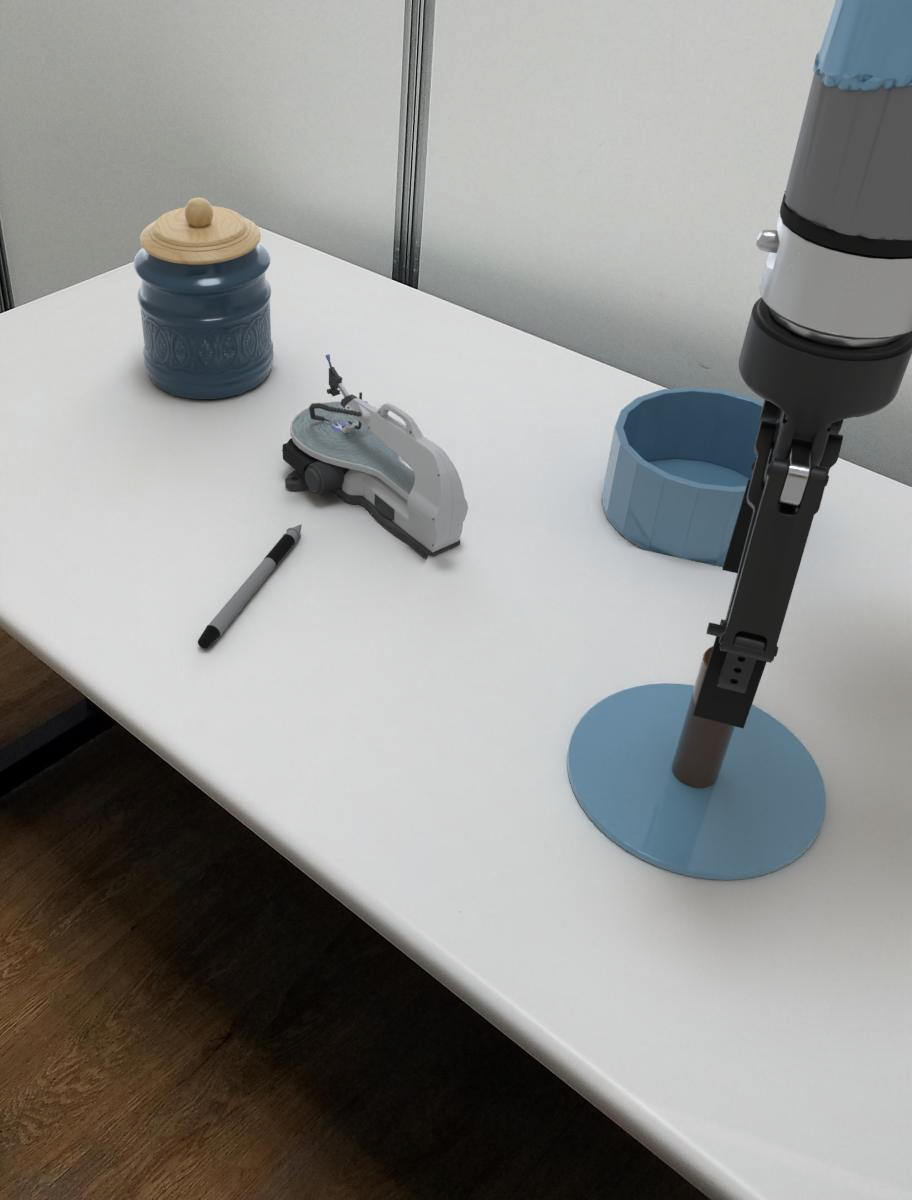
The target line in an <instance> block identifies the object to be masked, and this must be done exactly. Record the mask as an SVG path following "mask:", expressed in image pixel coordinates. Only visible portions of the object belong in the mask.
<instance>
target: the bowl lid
mask: <svg viewBox="0 0 912 1200" xmlns="http://www.w3.org/2000/svg"><path fill="white" fill-rule="evenodd" d="M712 648H713V645H711V646H710V647H708V648H707V649H706V650H705V651H704V652H703V654H702V658H701V662H700V665H699V668H698V671H697V675H696V679H695V682H694V684H685V683H671V682H670V683H669V682H667V683H665V682H663V683H649V684H643V685H637V686H633V687H629V688H626V689H622V690H620V691H617V692H614V693H612V694H610V695H608V696H606V697H605V698H603V699H601V700H600V701H598V702H597V703H595V704H594V705H593V706H592V707H591V708H589V709H588V710H587V711H586V713H584V714H583V716H582V717H581V718H580V720H579V721H578V723H577V724H576V726H575V728H574V729H573V732H572V734H571V737H570V741H569V744H568V745H569V746H568V750H567V760H566V762H567V765H566V766H567V773H568V779H569V783H570V786H571V788H572V789H571V790H572V791H573V794H574V796H575V797H576V800H577V802H578V804H579V805H580V808H582V810H583V811H584V813H585V814H586V816H587V818H589V820H590V821H592V823H593V824H594V825H595V826H596V827H597V828H598V830H599V831H601V832H602V833H603V834H604V835H605V836H606V837H607V838H609V840H611V841H612V842H613V843H614V844H616V845H617V846H618V847H620V848H622V849H623V850H625V851H626V852H628V853H629V854H631V855H633V856H635V857H636V858H638V859H639V860H642V861H644V862H646V863H648V864H651V865H653V866H655V867H658V868H661V869H663V870H666V871H669V872H672V873H674V874H680V875H684V876H687V877H692V878H698V879H704V880H714V881H715V880H718V881H734V880H746V879H751V878H756V877H761V876H764V875H767V874H770V873H773V872H776V871H778V870H781V869H782V868H784V867H786V866H788V865H791V864H792V863H793V862H795V861H796V860H797V859H798V858H800V857H801V856H802V855H803V854H804V853H805V852H806V851H807V850H808V849H809V848H810V847H811V846H812V844H813V843H814V841H815V840H816V838H817V836H818V834H819V832H820V830H821V827H822V824H823V822H824V819H825V816H826V815H825V814H826V808H827V794H826V788H825V784H824V780H823V777H822V774H821V771H820V769H819V767H818V765H817V763H816V762H815V759H814V758H813V756H812V755H811V753H810V751H809V750H808V749H807V747H806V746H805V745H804V744H803V742H801V740H800V739H799V738H798V737H797V736H796V735H795V734H794V733H793V732H792V731H791V730H790V729H789V728H787V726H786V725H784V724H783V723H782V722H781V721H779V720H778V719H776V718H775V717H774V716H772V715H771V714H770V713H768V712H766V711H764V710H763V709H761V708H760V707H758V706H756V705H755V704H752V706H751V708H750V711H749V714H748V717H747V720H746V723H745V726H744V729H743V728H739V727H735V726H732V725H728V724H724V723H720V722H716V721H712V720H709V719H705V718H701V717H697V716H693V713H694V708H695V704H696V701H697V698H698V695H699V691H700V688H701V685H702V681H703V678H704V675H705V672H706V668H707V665H708V662H709V658H710V655H711V652H712Z"/></svg>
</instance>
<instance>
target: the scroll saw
mask: <svg viewBox="0 0 912 1200" xmlns="http://www.w3.org/2000/svg"><path fill="white" fill-rule="evenodd" d="M325 359H326V361H327V362H328V365H329V368H328V385H329V387H330V388H327V389H326V394H328V395H331V396H332V397H336V396H338V395H342V396H343V398H341V400H340V401H339V400H338V401H337V400H334V401H326V402H314V403H313V402H312V403H311V404H310V405H309V407H306V408H304V409H302V410H301V411H300V412H298V413H297V414H296V415H295V416H294V417H293V419H292V421H291V422H290V428H289V429H290V430H289V431H290V433H289V434H290V439H289V440H288V441H287V442H286V443H283V444H282V449H281V452H282V460H283V461H284V462H285V463H286V464H288V465H289V466H290V467H291V468H292V469H293V470H292V471H291V472H290V473H289V474H288V475H287V476H286V478H285V479H284V484H285V486H284V487H285V489H287V490H288V491H290V492H300V491H306V490H310V491H311V492H313V493H315V494H317V495H323V494H325V493H327V492H330V491H331V492H333V493H334V494H336V496H338V497H339V498H340V499H342V501H344V502H346V503H347V504H350V505H361V506H362V507H363V508H364V509H365V510H366V511H368V513H369V514H370V515H371V516H372V517H373V518H374V519H375V520H376V521H377V522H378V523H379V524H380V525H381V526H382V527H383V528H384V529H386V530H387V531H388V532H390V533H391V535H393V536H395V537H396V538H398V539H399V540H400V541H403V542H404V543H405V544H406V545H408V546H409V547H410V548H412V549H413V550H414V551H415V552H416V553H417V554H419V555H420V556H421V557H423V559H425V560H428V558H429V557H433V558H434V557H436V556H438V555H441V554H443V553H445V552H448V551H449V550H452V549H454V548H456V547H459V546H460V545H461V536H462V532H463V524H464V522H465V520H466V518H467V515H468V510H469V505H468V504H469V503H468V501H467V499H466V497H465V492H464V488H463V483H462V481H461V478H460V475H459V473H458V470H457V468H456V466H455V465H454V463H453V461H452V460H451V459H450V457H449V455H448V454H447V453H446V451H444V449H443V448H441V447H440V446H439V445H437V444H436V443H435V442H433V441H432V440H430V439H428V438H427V437H425V436H424V435H423V433H422V431H421V430H420V427H419V426H418V425H417V423H416V421H415V420H414V418H413V417H412V416H411V415H410V414H408V413H406V412H405V411H404V410H402V409H401V408H399V407H398V406H396V405H394V404H392V403H390V402H386V403H383V404H382V405H381V406H380V407H379V408H377V407H375V406H373V405H372V404H370V403H369V402H368V401H367V400H363V392H362V391H361V392H359V393H358V396H356V395H354V394H352V393H351V394H349V392H348V390H347V389H346V387H345V386H344V384H343V377H342V376H340V375H339V373H338V372H337V370H336V369H335V366H332V361H331V354H329V353H328V354H325ZM389 412H391V413H393V414H394V415H396V416H397V417H399V418H400V419H402V420H403V421H404V423H403V422H401V421H399V420H398V419H396V418H394V417H392V416H391V415H389ZM401 459H402V460H401ZM403 461H404V463H403ZM405 463H406V464H407V465H408V466H407V465H406V464H405Z"/></svg>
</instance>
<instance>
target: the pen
mask: <svg viewBox="0 0 912 1200" xmlns="http://www.w3.org/2000/svg"><path fill="white" fill-rule="evenodd" d="M302 525H303V524H302V523H301V524H298V525H296V526H293V527H288V528H287V529H286V532H285V533H284V534H283V535H282V537H280V539H278V541H277V542H276V543H275V545H274V546H273V547H272V548H271V550H270V551H269V552H268V553H267V554H266V555H265V557H264V558H263V560H262V561H261V562H260V564H258V566H257V567H256V568H255V569H254V570H253V571H252V573H250V575H249V577H247V579H246V580H245V581H244V582H243V583H242V584H241V586H239V588H238V589H237V591H235V593H233V595H232V596H231V598H230V599H228V601H227V602H226V603H225V604H224V606H223V607H222V608H221V609H220V610H219V612H218V613H217V614H216V615H215V617H213V618H212V620H211V621H210V622H209V624H207V625H206V626H205V628H204V630H203V632H202V633H201V635H200V636H199V637H198V640H197V645H198V646H199V647H200V648H201V649H204V650H206V649H208V648H210V646H212V645H213V644H214V643H215V642H216V641H217V640H218V639H219V638H221V637H222V634H223V633H224V632H225V631H226V629H227V628H228V627H229V626H230V624H231V623H232V622H233V621H234V619H236V617H237V616H238V614H239V613H240V612H241V611H242V609H243V608H244V607H245V605H246V604H247V603H248V601H250V599H251V598H252V597H253V595H254V594H255V593H256V592H257V590H258V589H259V588H260V587H261V586H262V584H263V583H264V582H265V581H266V579H268V577H269V576H270V574H271V573H272V572H273V571H274V570H275V569H276V568H277V566H278V565H279V564H280V563H281V561H282V560H283V559H284V558H285V556H286V555H287V554H288V553H289V552H290V551H291V549H292V548H293V547H294V546H295V544H296V542H298V541H299V540H300V539H301V531H302Z"/></svg>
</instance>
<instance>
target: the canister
mask: <svg viewBox="0 0 912 1200" xmlns="http://www.w3.org/2000/svg"><path fill="white" fill-rule="evenodd" d="M261 239H262V233H261V229H260V228H259V226H258V225H257V224H256V223H254V222H253V221H252V220H251V219H248V218H246V217H244V216H243V215H242V214H240V213H239V212H237V211H235V210H232V209H230V208H227V207H222V206H216V205H212V204H211V203H210V202H209V201H208V200H207V199H206V198H204V197H194V198H191V199H189V200H188V202H187V203H186V205H185V206H183V207H179V208H176V209H173V210H170V211H167V212H165V213H163V214H161V215H160V216H158V218H157V219H156V220H154V221H152V222H151V223H150V224H147V226H146V227H145V228H143V230H142V231H141V233H140V236H139V242H140V245H141V248H140V249H139V251H137V253H136V255H135V257H134V259H133V268H134V271H135V273H136V275H137V276H138V278H140V286H139V288H138V290H137V302H138V305H139V307H140V316H141V317H140V318H141V326H142V336H143V344H144V345H143V351H142V353H143V363H144V364H145V368H146V369H147V373H148V377H149V379H150V380H151V382H152V383H153V384H154V385H155V386H156V387H158V388H159V389H161V390H162V391H164V392H166V393H169V394H170V395H174V396H176V397H177V396H178V397H181V398H186V399H194V400H216V399H218V400H219V399H225V398H230V397H235V396H238V395H241V394H244V393H246V392H248V391H251V390H252V389H254V388H256V387H258V386H259V385H260V384H262V383H263V382H264V381H265V380H266V379H267V377H268V376H269V375H270V372H271V369H272V364H273V363H272V362H273V358H274V343H273V340H272V330H271V329H272V328H271V327H272V326H271V296H272V288H271V287H272V286H271V284H270V282H269V281H268V279H267V276H266V272H267V270H268V269H269V267H270V266H271V265H270V264H271V255H270V252H269V250H268V248H267V247H266V246H265V245H264V244H263V243H261V242H260V241H261Z"/></svg>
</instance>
